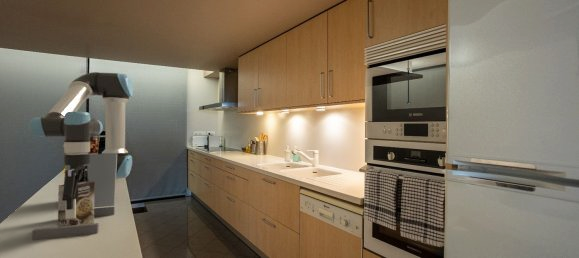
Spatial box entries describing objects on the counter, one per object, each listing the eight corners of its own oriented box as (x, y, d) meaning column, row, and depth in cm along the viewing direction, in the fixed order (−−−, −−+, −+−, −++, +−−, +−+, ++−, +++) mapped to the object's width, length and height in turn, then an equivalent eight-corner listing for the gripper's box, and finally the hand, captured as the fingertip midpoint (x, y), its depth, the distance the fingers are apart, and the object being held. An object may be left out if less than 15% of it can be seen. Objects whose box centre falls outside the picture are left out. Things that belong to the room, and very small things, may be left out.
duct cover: (61, 209, 109) (63, 209, 110) (113, 205, 115) (114, 205, 117) (66, 154, 113) (67, 155, 114) (116, 153, 119) (117, 153, 120)
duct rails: (63, 218, 111) (63, 210, 111) (114, 213, 117) (114, 206, 117) (32, 239, 89) (32, 230, 89) (97, 233, 95) (97, 224, 95)
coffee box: (71, 232, 96) (72, 186, 96) (57, 230, 97) (57, 185, 97) (95, 223, 105) (95, 181, 105) (81, 222, 106) (81, 180, 106)
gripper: (77, 151, 111) (77, 206, 111) (49, 156, 89) (49, 224, 89) (99, 150, 113) (98, 204, 113) (77, 156, 91) (76, 222, 91)
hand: (76, 213), depth 101 cm, fingers closed on coffee box, 10 cm apart
